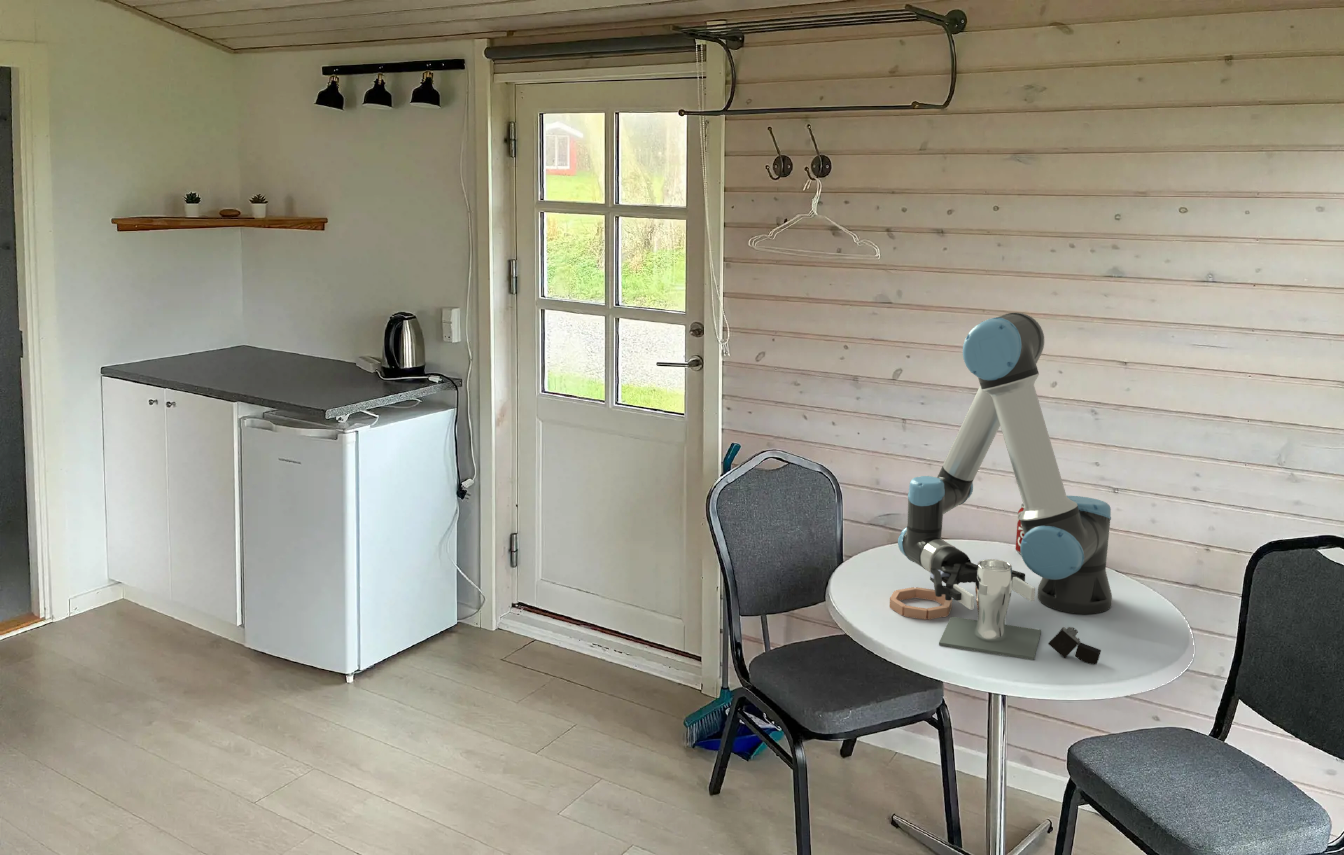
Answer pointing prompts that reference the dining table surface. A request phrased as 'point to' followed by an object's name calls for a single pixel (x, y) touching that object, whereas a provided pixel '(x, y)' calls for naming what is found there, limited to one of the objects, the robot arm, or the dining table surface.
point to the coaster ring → (917, 611)
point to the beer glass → (992, 598)
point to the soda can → (1019, 531)
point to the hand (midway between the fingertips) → (1003, 598)
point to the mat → (1015, 644)
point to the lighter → (1068, 641)
